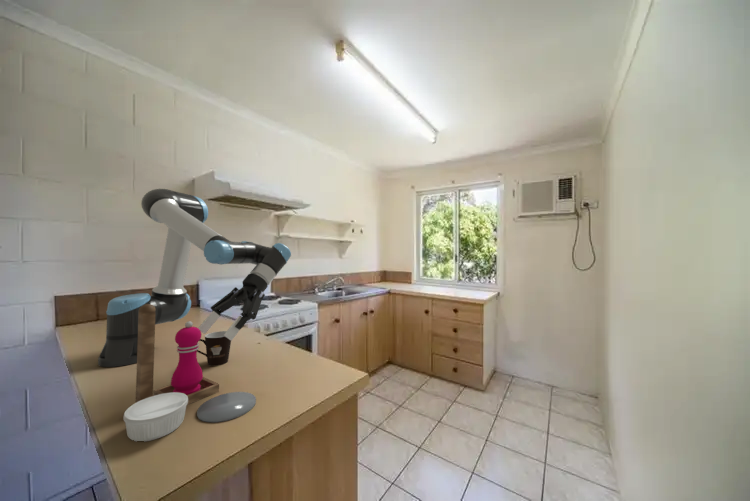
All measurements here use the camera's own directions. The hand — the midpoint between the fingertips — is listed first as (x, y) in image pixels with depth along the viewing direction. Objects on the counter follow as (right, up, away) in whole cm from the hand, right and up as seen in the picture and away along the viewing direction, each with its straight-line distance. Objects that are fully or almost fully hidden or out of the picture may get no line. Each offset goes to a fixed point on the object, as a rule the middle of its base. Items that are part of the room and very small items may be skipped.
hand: (213, 334), depth 79 cm
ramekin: (-1, -15, -20) cm, 25 cm away
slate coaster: (+10, -15, -11) cm, 21 cm away
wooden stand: (-6, -15, -8) cm, 18 cm away
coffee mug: (-11, -16, +18) cm, 26 cm away
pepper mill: (-4, -15, -5) cm, 17 cm away
